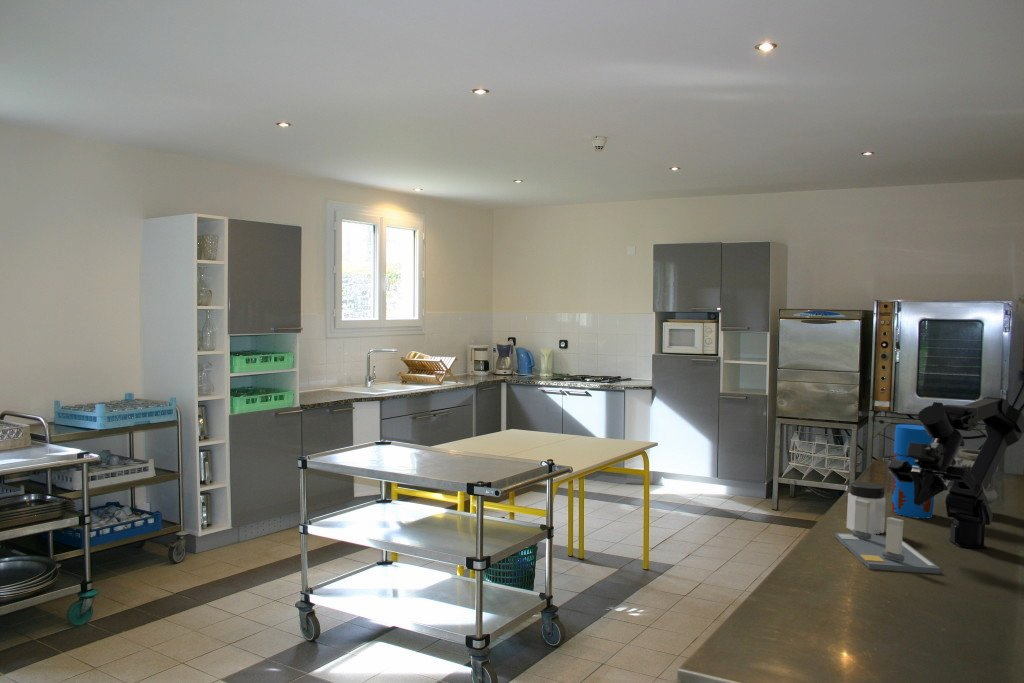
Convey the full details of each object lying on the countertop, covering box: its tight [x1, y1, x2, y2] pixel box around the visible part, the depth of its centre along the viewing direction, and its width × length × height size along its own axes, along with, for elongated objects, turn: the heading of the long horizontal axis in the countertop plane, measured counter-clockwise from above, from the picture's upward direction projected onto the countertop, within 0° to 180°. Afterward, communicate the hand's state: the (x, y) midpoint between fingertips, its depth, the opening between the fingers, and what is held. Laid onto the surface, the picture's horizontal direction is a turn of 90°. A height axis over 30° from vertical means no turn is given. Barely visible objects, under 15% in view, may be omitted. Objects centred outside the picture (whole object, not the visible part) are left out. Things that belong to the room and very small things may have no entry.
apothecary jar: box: [949, 448, 999, 505], centre depth 229 cm, size 12×12×18 cm
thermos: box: [891, 424, 935, 519], centre depth 225 cm, size 11×11×25 cm
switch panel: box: [834, 532, 941, 575], centre depth 185 cm, size 15×25×1 cm, turn 174°
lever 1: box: [851, 499, 871, 539], centre depth 194 cm, size 2×4×9 cm, turn 34°
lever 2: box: [882, 516, 905, 562], centre depth 177 cm, size 2×4×9 cm, turn 34°
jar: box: [846, 481, 887, 535], centre depth 206 cm, size 9×8×12 cm
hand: (916, 504), depth 181 cm, fingers closed
